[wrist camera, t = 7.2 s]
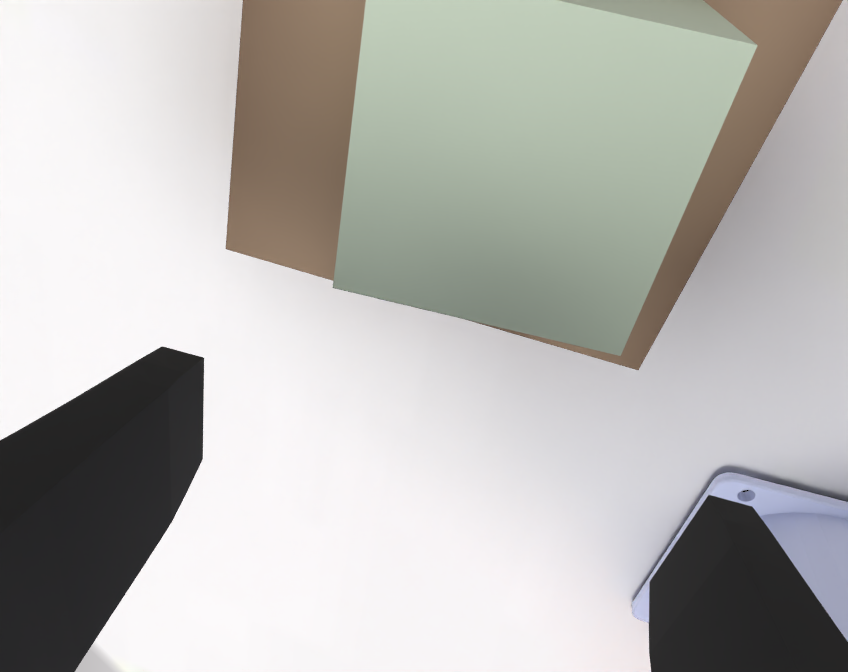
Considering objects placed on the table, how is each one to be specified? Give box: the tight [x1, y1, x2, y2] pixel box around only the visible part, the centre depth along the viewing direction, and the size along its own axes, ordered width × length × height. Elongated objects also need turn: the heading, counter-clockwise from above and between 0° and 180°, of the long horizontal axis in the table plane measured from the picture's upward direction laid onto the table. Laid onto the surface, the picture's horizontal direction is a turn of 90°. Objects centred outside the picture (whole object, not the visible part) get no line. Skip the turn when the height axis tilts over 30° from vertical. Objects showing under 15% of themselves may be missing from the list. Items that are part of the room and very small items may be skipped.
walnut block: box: [226, 0, 842, 370], centre depth 14 cm, size 10×10×4 cm
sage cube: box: [333, 0, 758, 356], centre depth 11 cm, size 4×4×4 cm
